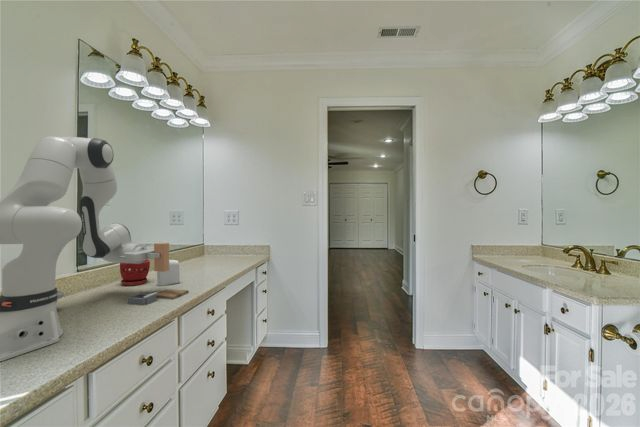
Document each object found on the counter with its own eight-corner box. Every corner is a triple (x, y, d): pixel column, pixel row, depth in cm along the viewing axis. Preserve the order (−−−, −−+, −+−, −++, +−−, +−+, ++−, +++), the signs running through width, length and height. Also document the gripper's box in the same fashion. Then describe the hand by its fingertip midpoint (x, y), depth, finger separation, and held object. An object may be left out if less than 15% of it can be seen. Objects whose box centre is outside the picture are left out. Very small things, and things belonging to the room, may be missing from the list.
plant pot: (127, 288, 144) (127, 263, 143) (115, 284, 151) (114, 261, 151) (154, 282, 154) (154, 259, 154) (142, 279, 162) (141, 257, 162)
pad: (173, 299, 125) (173, 296, 125) (149, 297, 128) (149, 295, 128) (188, 292, 135) (188, 290, 135) (165, 291, 138) (165, 289, 138)
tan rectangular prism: (164, 271, 127) (164, 243, 127) (154, 271, 128) (154, 243, 128) (169, 270, 130) (169, 243, 130) (159, 269, 131) (159, 242, 131)
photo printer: (157, 286, 146) (157, 261, 146) (156, 284, 150) (156, 260, 149) (180, 283, 152) (180, 259, 152) (178, 281, 156) (178, 258, 156)
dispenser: (145, 305, 117) (145, 296, 117) (126, 303, 119) (126, 295, 119) (157, 300, 124) (157, 291, 124) (139, 299, 126) (139, 290, 126)
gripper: (115, 249, 121) (145, 250, 118) (153, 243, 141) (178, 244, 139) (116, 265, 121) (145, 266, 119) (153, 257, 141) (178, 258, 139)
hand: (163, 254), depth 129 cm, fingers closed on tan rectangular prism, 3 cm apart
